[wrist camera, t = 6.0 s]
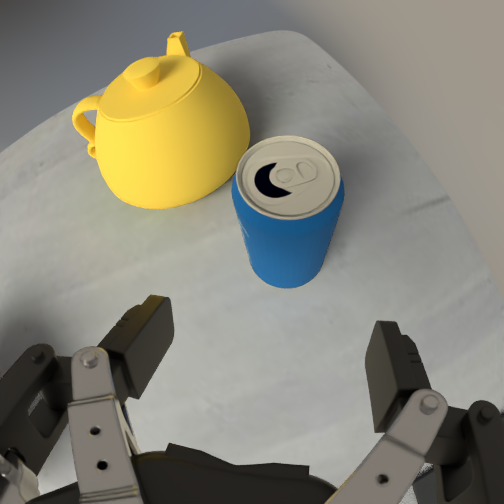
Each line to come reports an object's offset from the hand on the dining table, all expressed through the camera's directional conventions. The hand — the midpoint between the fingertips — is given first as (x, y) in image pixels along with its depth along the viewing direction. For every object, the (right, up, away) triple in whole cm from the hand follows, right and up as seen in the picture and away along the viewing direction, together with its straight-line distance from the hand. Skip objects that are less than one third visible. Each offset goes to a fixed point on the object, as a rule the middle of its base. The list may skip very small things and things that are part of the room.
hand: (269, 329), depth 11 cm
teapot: (-10, +15, +22) cm, 29 cm away
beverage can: (+2, +3, +16) cm, 16 cm away
